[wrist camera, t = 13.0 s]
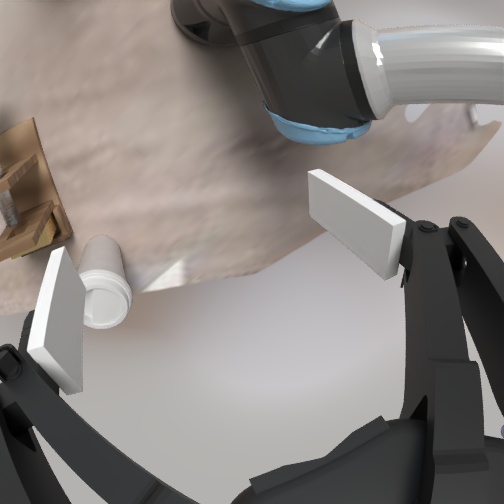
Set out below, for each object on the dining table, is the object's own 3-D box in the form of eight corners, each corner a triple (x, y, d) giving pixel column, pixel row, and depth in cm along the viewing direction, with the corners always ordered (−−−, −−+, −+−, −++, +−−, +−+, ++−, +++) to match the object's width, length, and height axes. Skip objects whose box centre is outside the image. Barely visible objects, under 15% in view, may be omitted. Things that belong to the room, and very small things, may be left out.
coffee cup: (91, 217, 46) (81, 267, 34) (138, 242, 51) (146, 295, 40) (68, 261, 48) (57, 318, 36) (113, 282, 53) (116, 341, 42)
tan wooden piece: (17, 223, 40) (5, 246, 34) (53, 208, 42) (44, 229, 36) (23, 236, 41) (12, 259, 35) (59, 221, 43) (50, 243, 37)
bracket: (-17, 143, 32) (-58, 168, 21) (33, 117, 34) (-1, 132, 23) (25, 248, 43) (5, 299, 32) (72, 230, 46) (60, 278, 35)
